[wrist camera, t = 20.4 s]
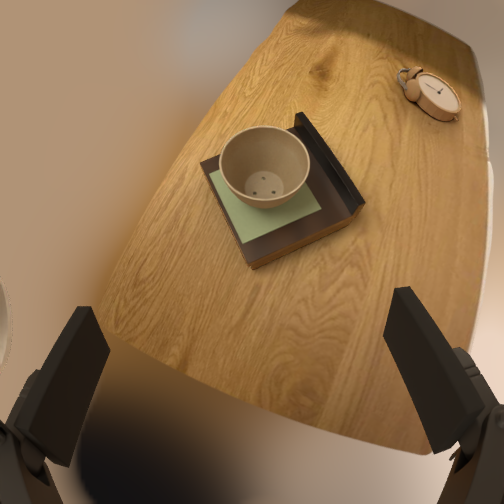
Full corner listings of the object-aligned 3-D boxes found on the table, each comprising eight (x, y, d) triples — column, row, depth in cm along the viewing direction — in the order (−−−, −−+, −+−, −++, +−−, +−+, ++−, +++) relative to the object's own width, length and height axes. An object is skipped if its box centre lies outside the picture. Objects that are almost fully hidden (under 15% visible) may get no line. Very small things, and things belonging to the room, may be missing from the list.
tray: (248, 271, 41) (246, 257, 34) (204, 176, 45) (195, 150, 39) (351, 223, 43) (365, 202, 36) (298, 140, 47) (302, 111, 40)
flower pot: (209, 189, 40) (200, 159, 33) (264, 146, 42) (265, 112, 35) (262, 241, 38) (263, 218, 31) (318, 192, 39) (328, 162, 33)
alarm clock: (462, 123, 45) (400, 78, 45) (448, 135, 50) (389, 93, 49) (462, 92, 48) (406, 52, 48) (450, 103, 53) (396, 66, 52)
